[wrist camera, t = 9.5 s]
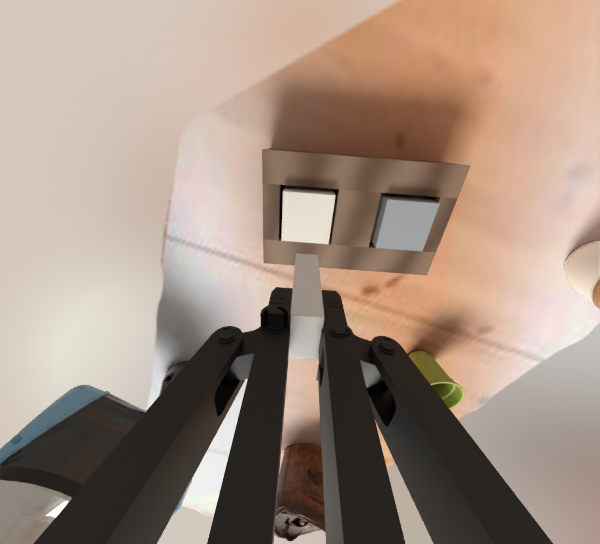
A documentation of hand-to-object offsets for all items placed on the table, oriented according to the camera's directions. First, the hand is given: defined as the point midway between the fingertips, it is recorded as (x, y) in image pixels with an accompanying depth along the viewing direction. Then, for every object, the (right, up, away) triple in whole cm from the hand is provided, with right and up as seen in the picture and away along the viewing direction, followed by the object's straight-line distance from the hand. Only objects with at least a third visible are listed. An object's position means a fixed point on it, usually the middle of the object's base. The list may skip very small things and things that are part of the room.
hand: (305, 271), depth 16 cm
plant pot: (+25, -19, +33) cm, 45 cm away
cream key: (+1, +8, +14) cm, 17 cm away
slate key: (+13, +7, +15) cm, 21 cm away
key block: (+7, +9, +17) cm, 21 cm away
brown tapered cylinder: (+1, -57, +55) cm, 80 cm away
